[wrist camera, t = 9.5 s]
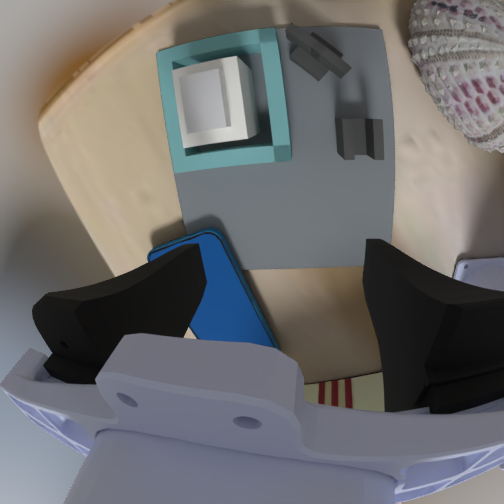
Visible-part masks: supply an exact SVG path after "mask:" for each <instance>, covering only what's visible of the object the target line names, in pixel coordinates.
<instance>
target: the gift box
mask: <svg viewBox="0 0 504 504" xmlns="http://www.w3.org/2000/svg"><path fill="white" fill-rule="evenodd" d="M304 398H305V401H306V402H312V403H317V404H323V405H330V406H336V407H343V408H351V409H359V410H368V411H378V412H384V385H383V374H382V372H379V373H375V374H370V375H364V376H359V377H354V378H348V379H342V380H336V381H329V382H322V383H316V384H309V385H304ZM402 503H403V502H401V503H397V504H402Z"/></svg>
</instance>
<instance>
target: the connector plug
mask: <svg viewBox="0 0 504 504" xmlns="http://www.w3.org/2000/svg"><path fill="white" fill-rule="evenodd" d="M172 75H173V83H174V90H175V97H176V104H177V111H178V117H179V124H180V130H181V136H182V142H183V148H188V147H194V146H200V145H206V144H212V143H219V142H226V141H234V140H242V139H248V138H251V137H253V136H255V135H257V134H260V125H259V117H258V109H257V102H256V94H255V87H254V80H253V72H252V70H251V69H250V68H249V67H248V66H247V65H246V64H245V63H244V62H243V61H242V60H240V59H239V58H238V57H237V56H233V57H227V58H222V59H217V60H212V61H207V62H203V63H199V64H194V65H190V66H186V67H183V68H179V69H175V70H172Z"/></svg>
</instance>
